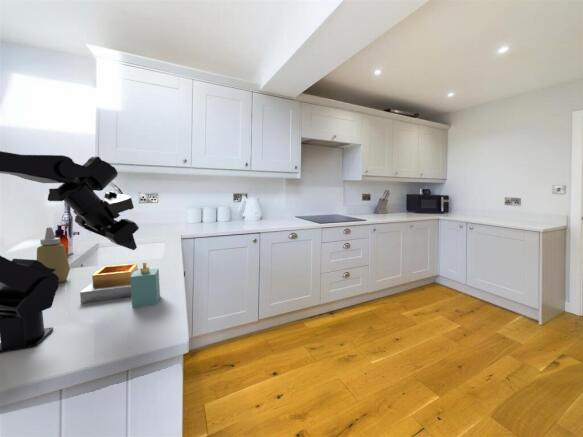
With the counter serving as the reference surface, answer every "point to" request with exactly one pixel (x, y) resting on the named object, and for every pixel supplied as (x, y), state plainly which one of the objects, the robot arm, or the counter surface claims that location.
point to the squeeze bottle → (53, 255)
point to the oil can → (145, 287)
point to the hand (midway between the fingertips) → (125, 243)
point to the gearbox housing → (109, 283)
